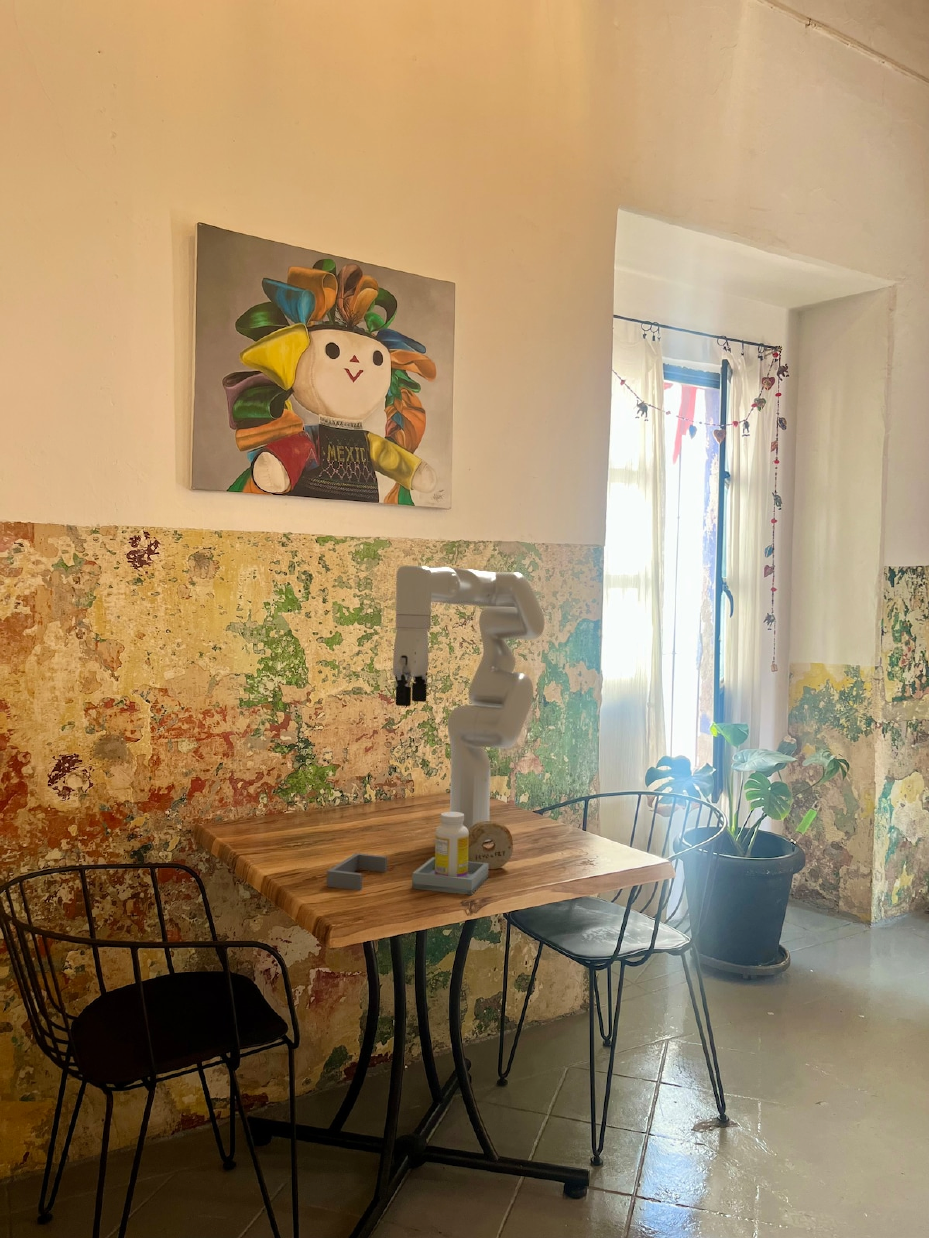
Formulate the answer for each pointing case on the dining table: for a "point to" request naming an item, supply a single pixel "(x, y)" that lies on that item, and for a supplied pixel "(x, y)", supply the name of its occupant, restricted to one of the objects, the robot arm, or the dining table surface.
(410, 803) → the dining table surface
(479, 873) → the tray
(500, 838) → the stone disc
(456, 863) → the supplement bottle
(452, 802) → the robot arm
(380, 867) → the bay
